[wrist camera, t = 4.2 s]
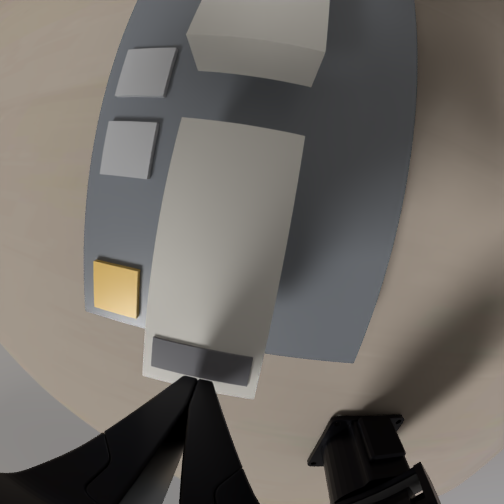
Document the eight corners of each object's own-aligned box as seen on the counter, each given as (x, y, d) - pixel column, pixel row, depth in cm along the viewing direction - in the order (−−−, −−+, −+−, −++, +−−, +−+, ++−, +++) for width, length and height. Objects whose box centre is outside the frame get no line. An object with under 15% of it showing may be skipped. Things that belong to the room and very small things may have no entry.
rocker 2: (253, 371, 10) (253, 400, 8) (160, 351, 10) (141, 376, 8) (295, 154, 9) (305, 134, 7) (194, 138, 9) (181, 115, 7)
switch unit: (340, 334, 16) (358, 374, 12) (110, 290, 16) (75, 318, 12) (394, 20, 11) (421, -10, 7) (171, -15, 11) (153, -50, 7)
